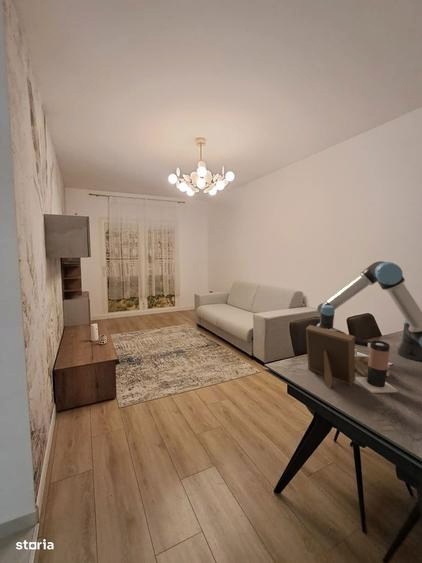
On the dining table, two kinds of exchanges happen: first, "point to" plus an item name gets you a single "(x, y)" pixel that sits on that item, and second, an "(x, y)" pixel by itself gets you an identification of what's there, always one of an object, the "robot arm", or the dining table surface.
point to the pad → (376, 389)
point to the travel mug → (378, 363)
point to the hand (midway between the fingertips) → (367, 351)
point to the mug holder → (360, 365)
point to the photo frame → (331, 354)
